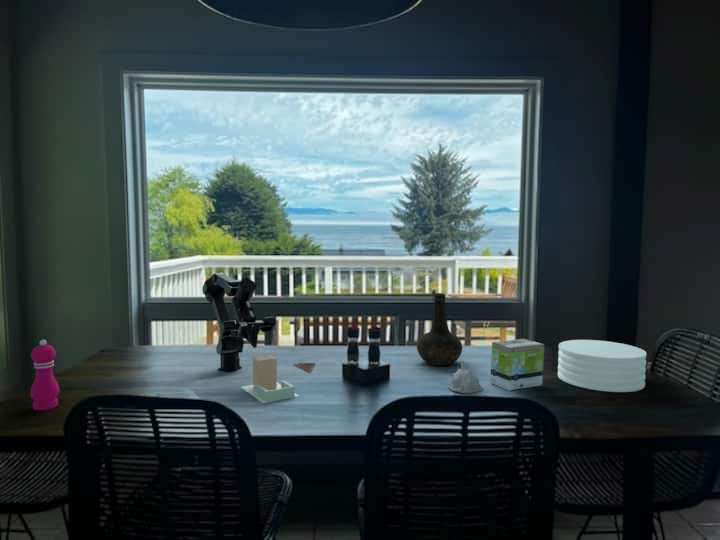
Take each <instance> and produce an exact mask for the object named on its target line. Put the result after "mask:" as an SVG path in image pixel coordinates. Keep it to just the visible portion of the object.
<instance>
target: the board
mask: <svg viewBox="0 0 720 540" xmlns="http://www.w3.org/2000/svg"><path fill="white" fill-rule="evenodd" d="M295 387H296V386H294V385H293V384H291V383H290V382H288V381H287V380H281V381H280V383H279V382H277V389H273V390H267V389H265V388H264V387H262V386H261V385H256V390H255V389H254V388H253V384H250V385H243V386H240V388H241V389H242V390H244V391H245V392H246V393H248V394H250V395H251V396H252V397H254V398H255V399H257V401H259V402H260V403H262V404H265V403H270V402H275V401H280V400H281V401H282V400H285V399H286V400H287V399H291V398H296V397H299V396H300V395H299V394H297V393H296V391H295Z"/></svg>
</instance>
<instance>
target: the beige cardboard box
mask: <svg viewBox="0 0 720 540" xmlns="http://www.w3.org/2000/svg"><path fill="white" fill-rule="evenodd" d="M277 374H278V373H277V357H275V356H273V355H271V354H268V355H260V356H259V355H258V356H253V357H252V385H253V388H254V389H255V390H256V385H261V386H262V387H264V388H265V389H267V390H273V389H277V383H278V382H277V377H278V376H277Z"/></svg>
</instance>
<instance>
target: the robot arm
mask: <svg viewBox="0 0 720 540" xmlns="http://www.w3.org/2000/svg"><path fill="white" fill-rule="evenodd" d="M256 290H257V283H256V282H254V280H252V279H249V277H248V276H242V277H241V279H235V278H233V277H231V276H229V275H227V273H225V272H214V273H212V274H211V276H210V277H208V278H207V279H205V280H204V283H203V285H202V293H203V295H204V296H205V297H204V298H205V299H206V301H207V302H209V303H210V304H211V305H212V307H213V311H214V314H215V317H216V321H217V324H218V327H219V337H218V338H219V339H218V342H217V344H216V346H215V351H216V353H217V354H218V355H219V356H220V357H219V358H220V367H218V368H217V370H218V371H224V372H230V373H231V372H234V371H237V370H239V369H242V368H243V366H241V365H240V361H241V360H240V358H241V357H240V356H239V355H240V353H243V352H244V344H245V343H244V342H245V340H246V341H247V343H249V344H250V345H251V346H252V348H253V349H256V348H257V347H258V337H259V334H260V331H261V332H262V333H269V332H273V330H274V328H275V327H276V325H277V324H278V323H277V319H276V317H275V316H265V317H263V318H262V320H261V321H256V320H257V316H256V315H254V311H253V310H254V307H253V306H251V303H250V301H251V300H252V299H253V297H254V294H255V292H256ZM225 295H226V296H227V297H229V298H230V297H232V299H231V308H233V310H234V314H235V317H234V320H233V319H231V317H230V313H229V310H228V308H227V307H228V306H227V304H226V301H225V299H224V298H225ZM244 339H245V340H244Z"/></svg>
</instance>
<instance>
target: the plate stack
mask: <svg viewBox="0 0 720 540" xmlns="http://www.w3.org/2000/svg"><path fill="white" fill-rule="evenodd" d="M557 355H558V358H557V359H558V360H557V363H558V365H557V377H558V378H559V379H560V380H561V381H563V382H564V383H568V384H570V385H573V386H576V387H580V388H584V389H588V390H594V391H600V392H610V393H630V392H638V391H640V390H643V389H644V388H645V387H646V381H645V380H646V372H647V371H646V370H647V369H646V365H647V360H646V358H647V351H645V350H644V349H642V348H639V347H637V346H633V345H630V344H627V343H626V344H625V343H621V342H620V343H619V342H616V341H615V342H614V341H607V340H598V339H597V340H596V339H595V340H594V339H570V340H564V341H562V342H559V344H558V354H557Z"/></svg>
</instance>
